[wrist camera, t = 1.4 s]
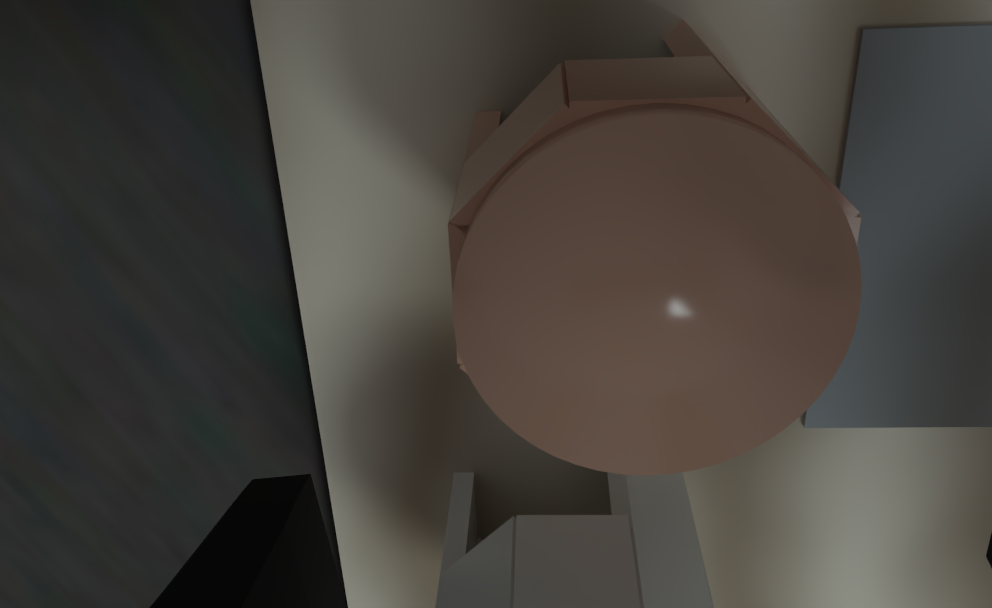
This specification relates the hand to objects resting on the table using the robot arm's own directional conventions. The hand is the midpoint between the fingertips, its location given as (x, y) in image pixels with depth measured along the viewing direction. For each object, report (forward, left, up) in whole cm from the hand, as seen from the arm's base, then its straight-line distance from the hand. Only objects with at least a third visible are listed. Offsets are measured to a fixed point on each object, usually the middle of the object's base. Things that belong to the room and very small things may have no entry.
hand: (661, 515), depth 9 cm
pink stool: (0, -1, -10) cm, 10 cm away
